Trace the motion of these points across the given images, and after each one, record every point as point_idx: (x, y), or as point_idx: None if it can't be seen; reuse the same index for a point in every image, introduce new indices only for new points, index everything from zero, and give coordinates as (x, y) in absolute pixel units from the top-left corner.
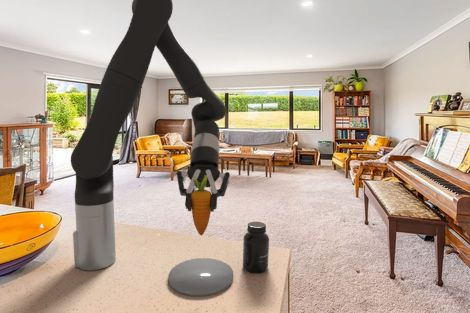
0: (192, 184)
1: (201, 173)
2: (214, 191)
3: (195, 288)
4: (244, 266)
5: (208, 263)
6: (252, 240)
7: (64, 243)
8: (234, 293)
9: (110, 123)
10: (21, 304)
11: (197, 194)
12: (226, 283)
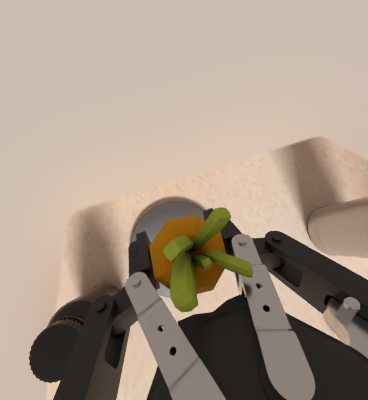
0: None
1: (261, 389)
2: (136, 279)
3: (168, 210)
4: (118, 291)
5: None
6: (80, 302)
7: None
8: (121, 225)
9: None
10: (316, 142)
11: (190, 218)
12: (134, 233)
